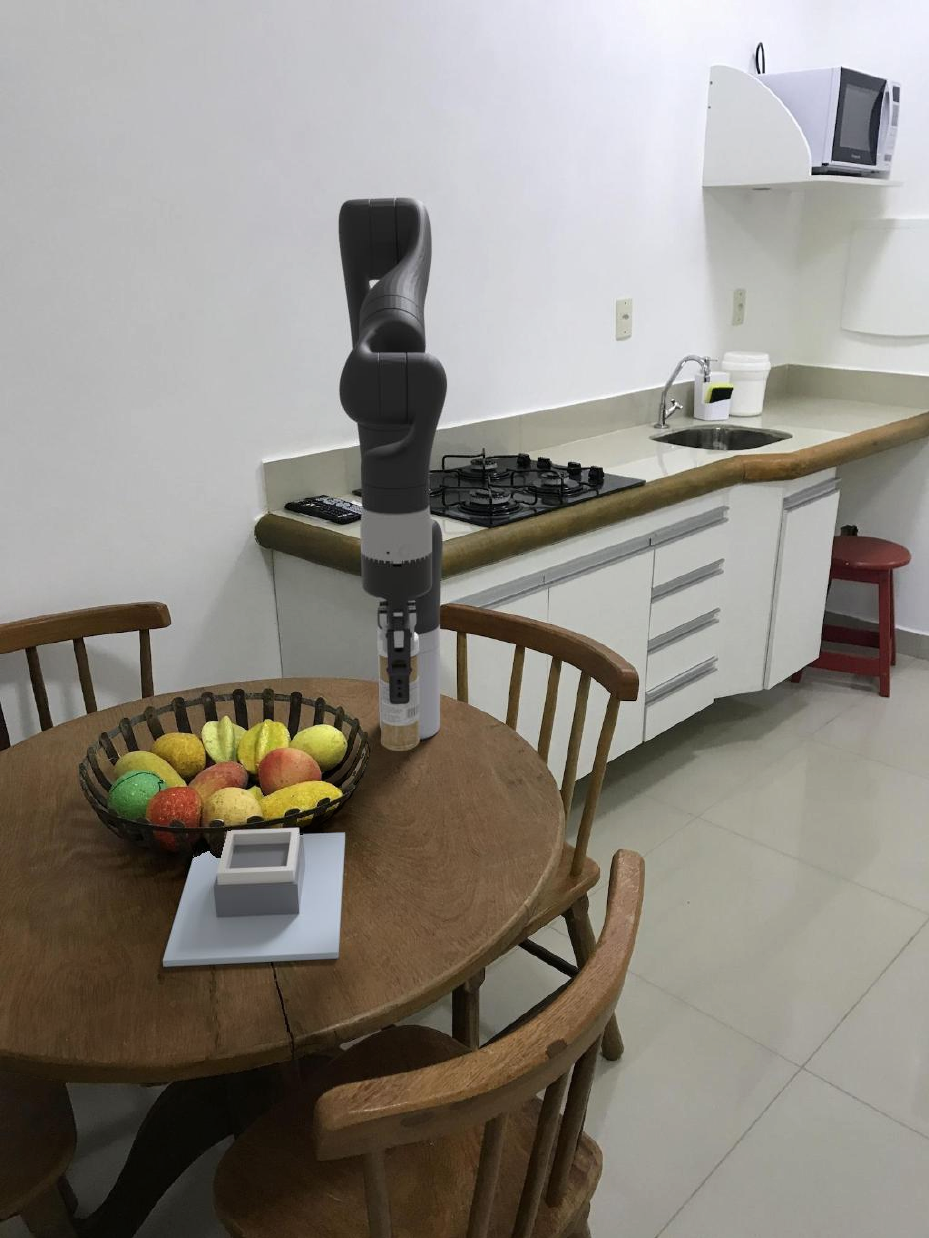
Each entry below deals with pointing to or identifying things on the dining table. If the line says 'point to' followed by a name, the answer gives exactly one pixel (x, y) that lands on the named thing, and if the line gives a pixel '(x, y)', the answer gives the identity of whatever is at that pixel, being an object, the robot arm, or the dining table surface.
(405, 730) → the sprinkles bottle
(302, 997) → the dining table surface
